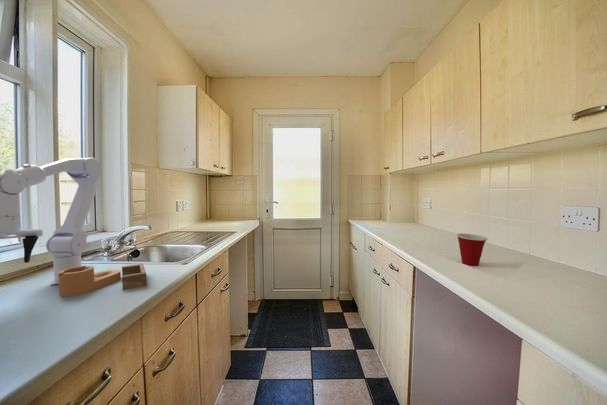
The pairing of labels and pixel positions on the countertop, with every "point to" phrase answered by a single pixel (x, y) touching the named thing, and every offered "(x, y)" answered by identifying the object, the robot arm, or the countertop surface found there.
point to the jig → (133, 276)
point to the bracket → (84, 280)
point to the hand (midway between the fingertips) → (8, 264)
